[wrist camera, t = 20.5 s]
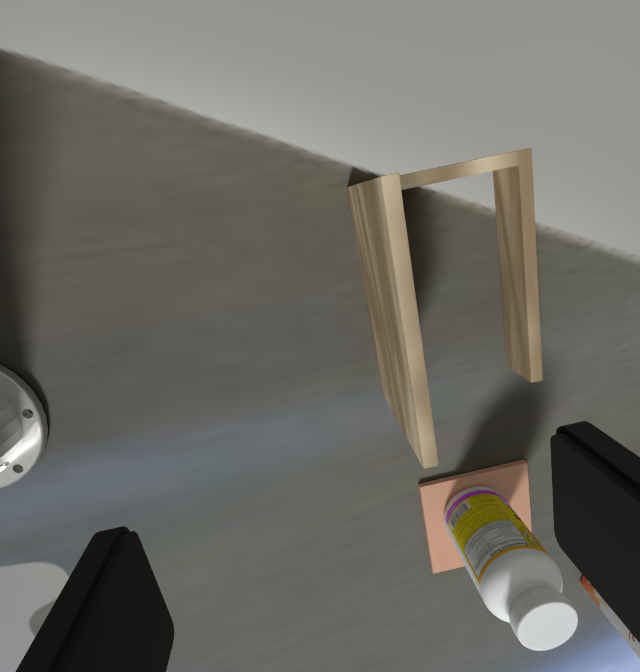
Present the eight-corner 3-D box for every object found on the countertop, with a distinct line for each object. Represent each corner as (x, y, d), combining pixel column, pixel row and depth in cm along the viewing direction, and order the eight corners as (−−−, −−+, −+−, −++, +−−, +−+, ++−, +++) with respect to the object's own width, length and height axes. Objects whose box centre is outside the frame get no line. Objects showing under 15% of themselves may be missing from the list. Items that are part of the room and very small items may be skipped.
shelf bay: (382, 394, 40) (423, 468, 28) (347, 187, 34) (380, 176, 23) (517, 363, 40) (612, 425, 29) (503, 154, 35) (613, 127, 23)
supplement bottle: (507, 529, 45) (592, 650, 33) (445, 544, 45) (508, 671, 33) (502, 476, 43) (590, 582, 31) (437, 491, 43) (501, 604, 31)
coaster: (431, 569, 46) (433, 573, 46) (418, 483, 43) (419, 487, 43) (529, 545, 47) (532, 550, 46) (524, 459, 43) (527, 462, 43)
